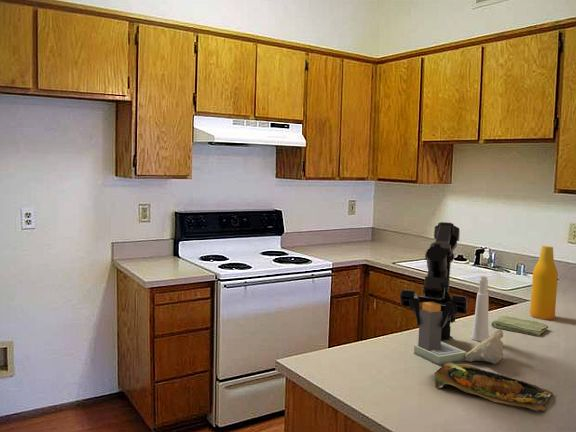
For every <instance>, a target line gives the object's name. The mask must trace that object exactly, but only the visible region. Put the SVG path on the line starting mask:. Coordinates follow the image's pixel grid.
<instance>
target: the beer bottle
mask: <svg viewBox="0 0 576 432" xmlns="http://www.w3.org/2000/svg"><path fill="white" fill-rule="evenodd" d="M539 253H540V254H539V257H538V258H539V259H538V261H537V262H536V264H535V266H534V268H533V271H532V282H531V283H532V284H531V295H530V308H529V314H530V316H531V317H532V318H535V319H540V320H548V321H549V320H553V319H555V316H556V305H557V303H556V302H557V291H558V280H559V279H558V277H559V274H558V270H557V269H558V268H557V267H556V266H557V265H555V260H554V247H553V246H551V245H541V248H540V252H539Z"/></svg>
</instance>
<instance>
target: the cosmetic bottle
mask: <svg viewBox="0 0 576 432" xmlns="http://www.w3.org/2000/svg"><path fill="white" fill-rule="evenodd" d="M488 288H489V280H488V276H485V275H482V276H480V279H479V283H478V292H477V294H476V301H475V309H474V310H475V311H474V319H473V327H472V332H471V336H470V339H471V340H473V341H475V342H479V343H480V342H482V341H483V340H485V339H487V338H488V337H490V332H489V293H488Z"/></svg>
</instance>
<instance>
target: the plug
mask: <svg viewBox="0 0 576 432" xmlns="http://www.w3.org/2000/svg"><path fill="white" fill-rule="evenodd" d="M421 307H422V308H420V322H419V326H418V338H417V340H418V341H417V345H418V347H421V348H423V349H425V350H427V351H432V350H438V349H440V347H441V342H442V340H441V322H442V311H441V304H438V303H435V302H424V303H422V305H421Z"/></svg>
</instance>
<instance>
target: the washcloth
mask: <svg viewBox="0 0 576 432" xmlns="http://www.w3.org/2000/svg"><path fill="white" fill-rule="evenodd" d="M491 327H492V328H495V329H498V330H500V329H501V330H502V331H509V332H514V333H520V334H526V335H531V336H534V337H539V336H540V335H541V334H543V333H544V332H545V331H546V330H548V329H549V324H548V325H547V324H546V323H543V322H539V321H535V320H529V319H522V318H518V317H515V316H514V317H513V316H508V315H504V316H503V315H502V316H499V317H498V318H497V319H495V320H493V321H492V322H491Z"/></svg>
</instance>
